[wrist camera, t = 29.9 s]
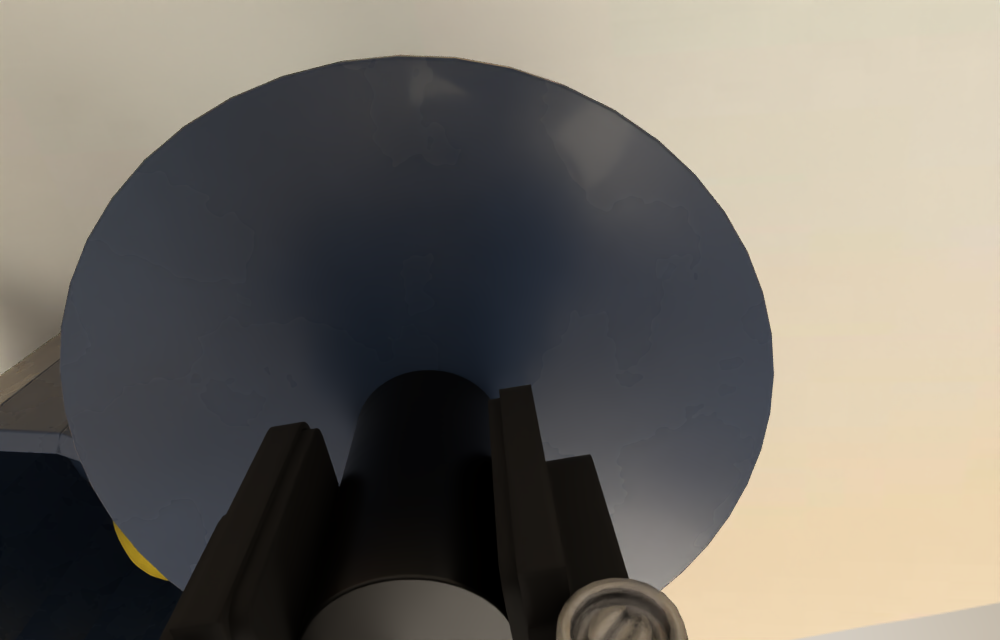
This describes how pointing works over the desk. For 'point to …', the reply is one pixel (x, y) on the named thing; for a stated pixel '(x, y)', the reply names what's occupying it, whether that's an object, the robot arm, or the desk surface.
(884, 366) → the desk surface
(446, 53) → the desk surface
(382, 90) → the lid
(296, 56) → the desk surface
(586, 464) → the robot arm
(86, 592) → the pot
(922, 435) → the desk surface
